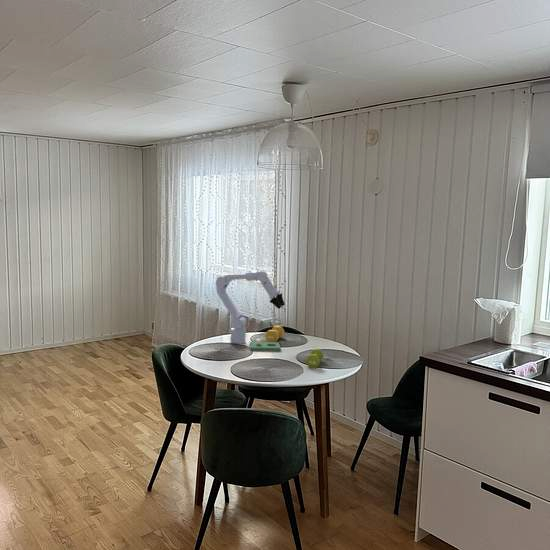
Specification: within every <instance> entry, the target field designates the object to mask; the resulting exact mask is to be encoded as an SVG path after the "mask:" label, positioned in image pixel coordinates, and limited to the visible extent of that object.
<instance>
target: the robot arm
mask: <svg viewBox="0 0 550 550" xmlns="http://www.w3.org/2000/svg"><path fill="white" fill-rule="evenodd" d="M233 280H236V281H237V280H245V281H247V282H254V281H255V282H256V281H259V282H260V283H261V285H262V287H263V288H264V290H265V292H266V293H267V295H268V296H269V297H268V298H269V303H271V304H272V305H274V306H275V308H277V310H279V309H281V308H282V307H283V306H285V305H286V303H285V302H284V298H283V293H280V290H277V289H276V287H275V286H274V284H273V282H272V280H270V278H269V276H268V273H267V272H266V271H265V270H260V271H259V270H256V271H251V270H248V271H246V272H245V273H230V274H224V275H220V276H218V277H217V278H216V281H215V287H216V294H217V295H218V297H219V299H220V300H221V301H222V304H223V305H224V307H225V308H226V310H227V312H228V313H229V315H230V316H231V321H232V323H233V327H232V328H230V337H229V340H230V344H247V340H246V334H247V333H246V332H247V331H246V328H247V327H246V325H247V323H248V320H247V318H246V317H245V316H243V314H242V313H240V311H239V310H238V308H237V307H236V306H235V304H234V302H233V300H232V299H231V297H230V296H229V294H228V292H227V291H226V290H227V287H228V286H229V285H230V284H231V282H233Z"/></svg>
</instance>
